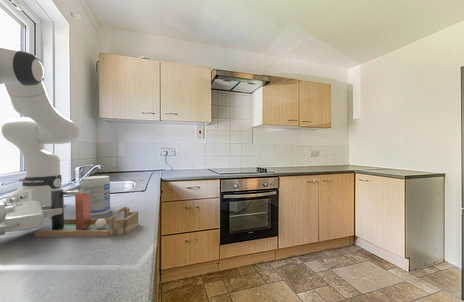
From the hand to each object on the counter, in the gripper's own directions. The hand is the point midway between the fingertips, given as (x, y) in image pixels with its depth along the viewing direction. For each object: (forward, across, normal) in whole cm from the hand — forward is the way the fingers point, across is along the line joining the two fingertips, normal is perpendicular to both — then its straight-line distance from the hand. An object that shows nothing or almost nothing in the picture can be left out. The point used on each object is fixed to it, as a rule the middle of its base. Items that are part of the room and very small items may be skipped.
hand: (61, 208), depth 67 cm
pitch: (+5, -6, +7) cm, 11 cm away
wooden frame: (+14, -15, +7) cm, 22 cm away
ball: (+9, -10, +6) cm, 14 cm away
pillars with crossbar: (+2, -3, +6) cm, 7 cm away
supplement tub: (+12, +12, +7) cm, 19 cm away
